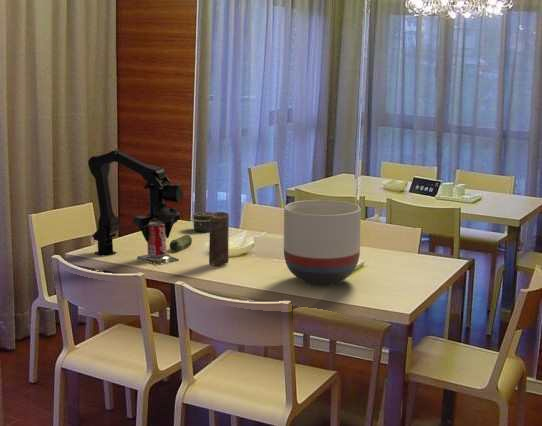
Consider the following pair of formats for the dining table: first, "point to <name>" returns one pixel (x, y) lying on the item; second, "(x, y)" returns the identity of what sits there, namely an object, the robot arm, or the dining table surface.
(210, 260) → the candle
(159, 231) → the soda can
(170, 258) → the pawl stand
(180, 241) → the vegetable
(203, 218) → the jar
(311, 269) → the planter
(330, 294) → the dining table surface
